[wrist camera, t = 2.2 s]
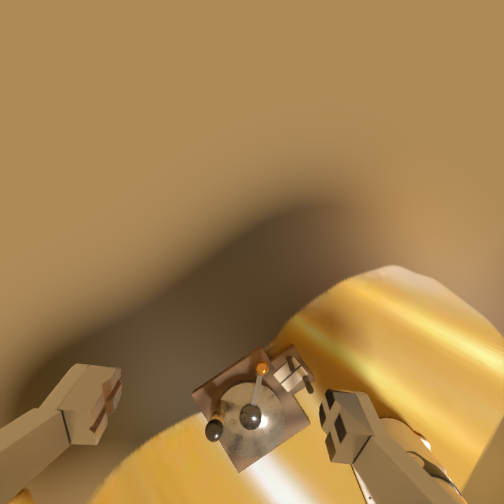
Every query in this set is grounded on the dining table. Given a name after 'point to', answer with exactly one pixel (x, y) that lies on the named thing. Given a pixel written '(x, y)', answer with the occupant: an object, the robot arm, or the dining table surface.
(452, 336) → the dining table surface
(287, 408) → the stand
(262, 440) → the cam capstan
